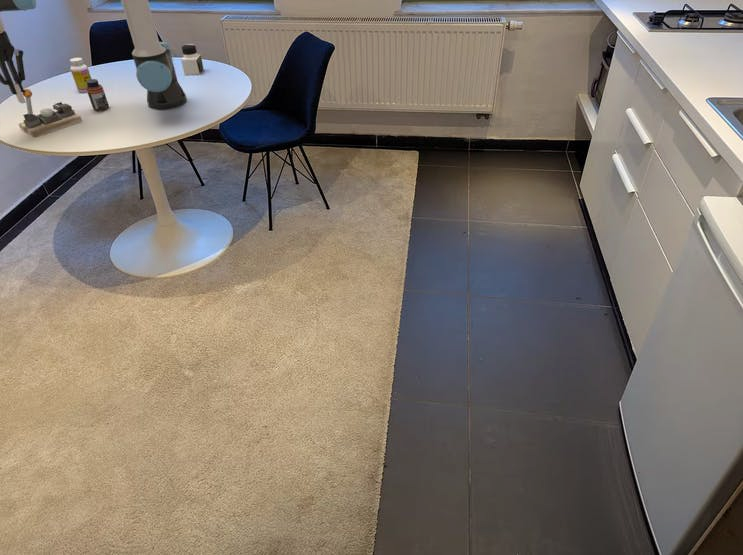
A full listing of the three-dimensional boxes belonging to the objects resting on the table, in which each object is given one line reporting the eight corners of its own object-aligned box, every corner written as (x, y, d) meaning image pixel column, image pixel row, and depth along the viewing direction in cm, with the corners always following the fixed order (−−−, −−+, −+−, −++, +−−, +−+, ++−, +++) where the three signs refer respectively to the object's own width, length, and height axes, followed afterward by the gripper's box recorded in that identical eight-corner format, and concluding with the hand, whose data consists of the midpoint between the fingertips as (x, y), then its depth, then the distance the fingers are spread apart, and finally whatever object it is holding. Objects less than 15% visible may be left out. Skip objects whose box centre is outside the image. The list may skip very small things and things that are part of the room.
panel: (82, 121, 207) (76, 106, 203) (34, 137, 196) (27, 121, 192) (67, 113, 213) (61, 98, 209) (20, 129, 202) (13, 113, 198)
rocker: (72, 109, 206) (71, 105, 205) (58, 111, 202) (57, 107, 202) (67, 107, 208) (66, 103, 207) (53, 108, 204) (52, 104, 204)
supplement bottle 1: (88, 93, 230) (77, 62, 222) (75, 92, 232) (63, 61, 224) (98, 87, 236) (87, 57, 227) (84, 86, 237) (73, 56, 229)
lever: (37, 119, 198) (33, 89, 194) (28, 120, 196) (23, 90, 191) (33, 117, 200) (29, 87, 195) (24, 118, 198) (20, 88, 193)
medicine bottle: (200, 75, 245) (194, 47, 238) (184, 75, 246) (177, 47, 238) (204, 69, 251) (198, 42, 243) (188, 70, 251) (182, 43, 244)
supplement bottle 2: (93, 107, 217) (83, 79, 210) (109, 105, 219) (100, 76, 212) (93, 112, 213) (83, 84, 206) (109, 110, 215) (100, 81, 208)
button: (56, 116, 202) (53, 110, 201) (45, 119, 200) (42, 113, 199) (51, 113, 205) (48, 107, 203) (40, 117, 202) (38, 110, 201)
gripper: (8, 26, 185) (36, 94, 200) (-33, 34, 177) (-1, 105, 192) (17, 29, 181) (45, 99, 196) (-24, 38, 173) (7, 110, 188)
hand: (22, 102), depth 194 cm, fingers closed
